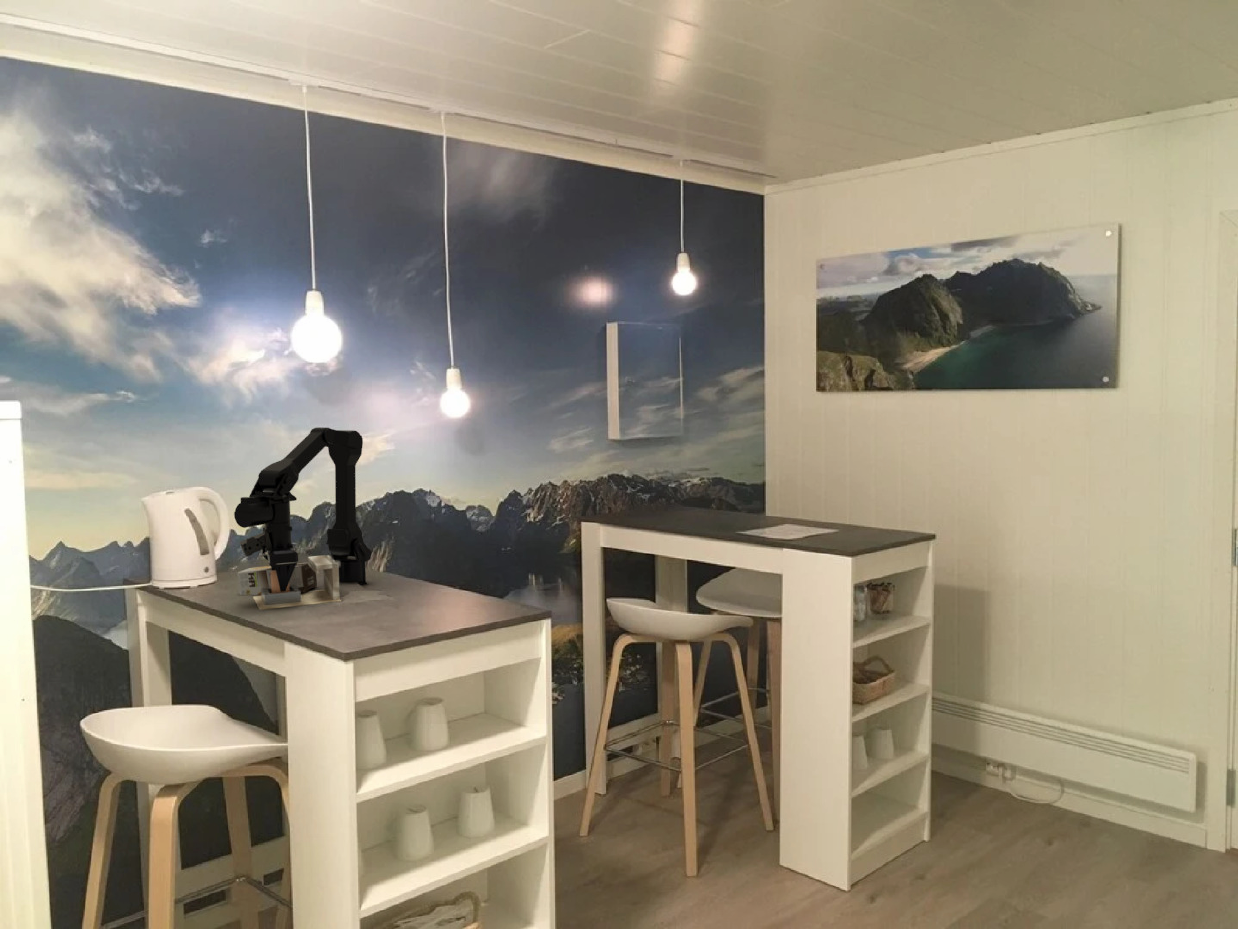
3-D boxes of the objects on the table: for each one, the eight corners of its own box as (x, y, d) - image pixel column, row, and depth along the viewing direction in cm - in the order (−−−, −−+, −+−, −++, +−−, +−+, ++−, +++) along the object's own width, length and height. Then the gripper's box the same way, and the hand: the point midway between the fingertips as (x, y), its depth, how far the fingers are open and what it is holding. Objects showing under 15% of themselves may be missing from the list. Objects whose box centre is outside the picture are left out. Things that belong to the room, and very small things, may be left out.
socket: (296, 595, 235) (295, 585, 235) (301, 601, 228) (300, 591, 228) (261, 598, 232) (260, 588, 231) (265, 605, 224) (264, 594, 224)
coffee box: (239, 598, 236) (304, 593, 235) (236, 572, 236) (301, 566, 235) (255, 591, 245) (317, 586, 244) (252, 566, 245) (315, 560, 244)
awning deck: (330, 592, 242) (328, 554, 241) (341, 605, 229) (339, 564, 228) (253, 600, 234) (251, 561, 233) (260, 613, 221) (258, 572, 220)
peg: (271, 599, 231) (269, 570, 230) (288, 597, 232) (287, 568, 232) (273, 603, 227) (271, 573, 226) (291, 601, 229) (289, 571, 228)
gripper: (237, 519, 233) (240, 584, 234) (244, 529, 216) (247, 599, 217) (286, 516, 238) (288, 579, 239) (297, 525, 221) (299, 593, 222)
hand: (280, 587), depth 229 cm, fingers open, 9 cm apart
